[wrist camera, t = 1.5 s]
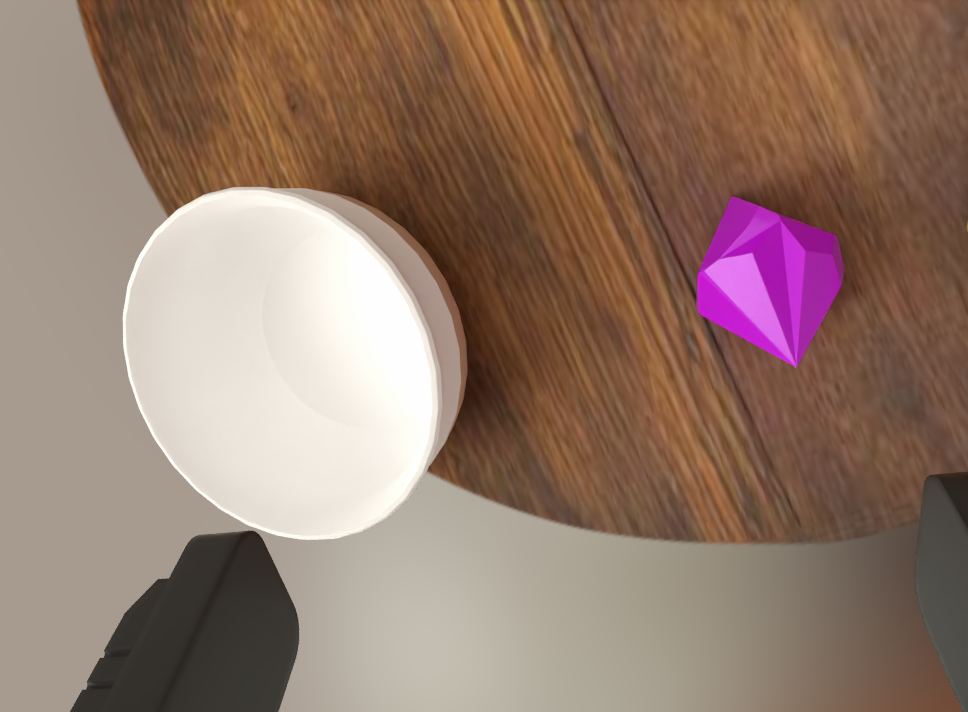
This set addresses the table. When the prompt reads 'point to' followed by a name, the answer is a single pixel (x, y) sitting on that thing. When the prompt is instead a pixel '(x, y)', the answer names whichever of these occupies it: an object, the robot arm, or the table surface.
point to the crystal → (769, 278)
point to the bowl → (294, 357)
